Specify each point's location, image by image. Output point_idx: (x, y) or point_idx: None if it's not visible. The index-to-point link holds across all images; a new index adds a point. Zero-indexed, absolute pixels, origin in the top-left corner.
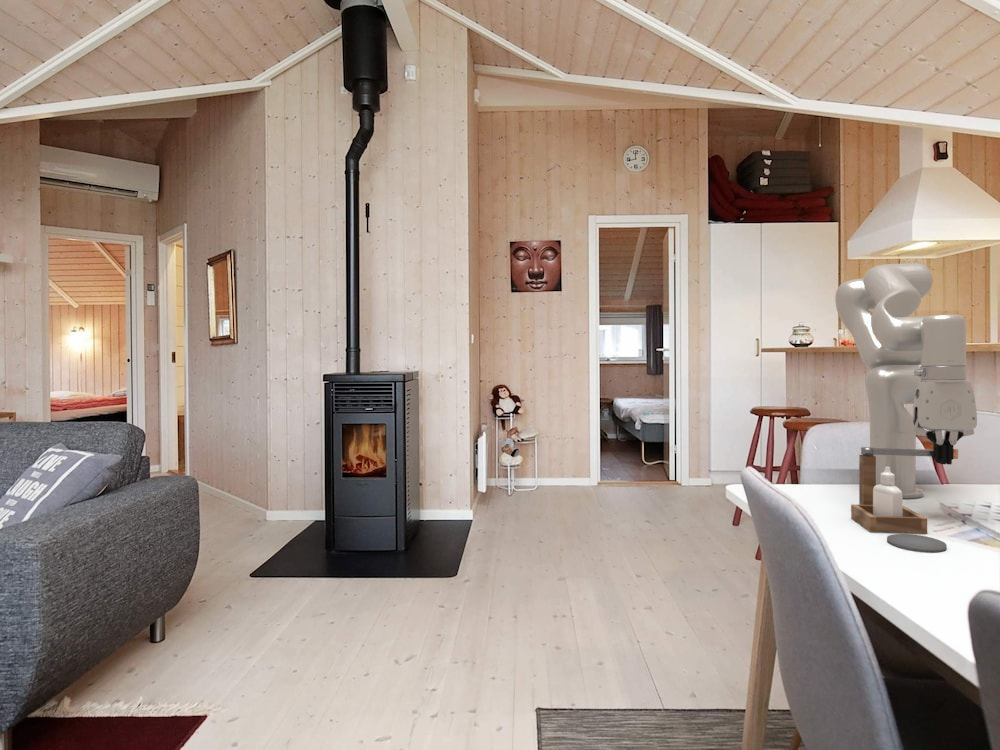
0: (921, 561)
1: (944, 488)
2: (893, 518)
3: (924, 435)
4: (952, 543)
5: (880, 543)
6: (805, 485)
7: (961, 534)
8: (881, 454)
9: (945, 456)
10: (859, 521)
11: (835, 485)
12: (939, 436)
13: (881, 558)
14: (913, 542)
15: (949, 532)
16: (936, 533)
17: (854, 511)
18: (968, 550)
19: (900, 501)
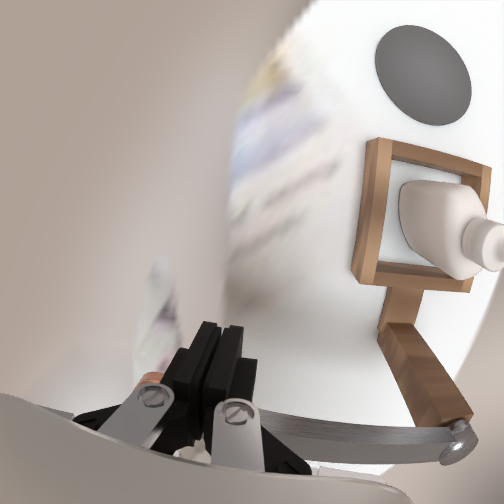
0: (446, 3)
1: None
2: (451, 155)
3: (327, 471)
4: (348, 71)
5: (479, 94)
6: None
7: (284, 138)
8: (427, 428)
9: (225, 344)
10: None
11: None
12: (235, 446)
13: (493, 31)
14: (436, 65)
15: (303, 155)
16: (341, 147)
17: None
18: (340, 29)
19: (441, 185)
